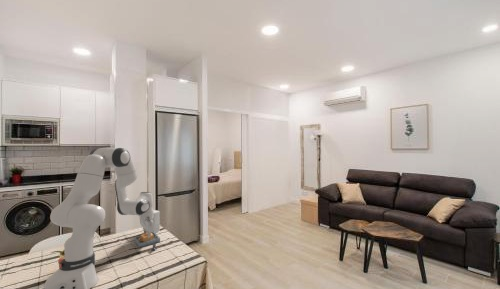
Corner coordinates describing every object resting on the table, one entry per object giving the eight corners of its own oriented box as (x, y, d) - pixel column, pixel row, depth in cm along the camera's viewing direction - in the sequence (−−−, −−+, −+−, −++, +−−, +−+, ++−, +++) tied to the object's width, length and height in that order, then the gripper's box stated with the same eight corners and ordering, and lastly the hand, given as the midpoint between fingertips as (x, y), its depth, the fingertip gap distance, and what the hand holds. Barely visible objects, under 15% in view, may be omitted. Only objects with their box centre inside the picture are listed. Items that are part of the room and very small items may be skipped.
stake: (152, 251, 142) (152, 245, 142) (151, 249, 145) (150, 244, 145) (157, 249, 144) (157, 244, 144) (155, 248, 147) (155, 242, 147)
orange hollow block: (153, 239, 157) (153, 235, 156) (140, 243, 151) (139, 238, 151) (150, 236, 162) (150, 232, 162) (137, 239, 156) (137, 235, 156)
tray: (139, 247, 148) (139, 243, 148) (134, 240, 158) (134, 237, 158) (160, 241, 156) (160, 238, 156) (154, 235, 166) (154, 232, 166)
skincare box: (145, 232, 172) (144, 212, 172) (151, 229, 178) (150, 209, 178) (154, 234, 169) (154, 213, 169) (160, 230, 176) (160, 210, 175)
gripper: (155, 218, 151) (156, 239, 151) (147, 211, 167) (147, 229, 167) (145, 220, 147) (146, 241, 147) (137, 212, 163) (138, 232, 163)
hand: (147, 235), depth 157 cm, fingers open, 7 cm apart
